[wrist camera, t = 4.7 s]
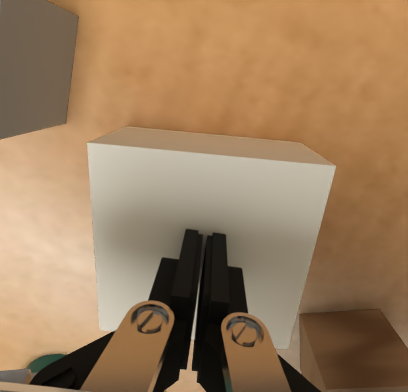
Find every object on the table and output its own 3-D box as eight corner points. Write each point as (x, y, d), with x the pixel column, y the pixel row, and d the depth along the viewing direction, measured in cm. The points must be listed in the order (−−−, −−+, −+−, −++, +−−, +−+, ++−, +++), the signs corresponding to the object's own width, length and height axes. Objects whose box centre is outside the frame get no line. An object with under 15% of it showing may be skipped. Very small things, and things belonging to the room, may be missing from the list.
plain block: (298, 141, 15) (336, 166, 10) (269, 281, 18) (287, 349, 13) (128, 125, 15) (87, 142, 10) (130, 267, 18) (99, 330, 13)
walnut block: (378, 307, 18) (438, 391, 13) (372, 363, 20) (423, 455, 15) (299, 313, 18) (328, 395, 14) (299, 366, 20) (326, 456, 15)
